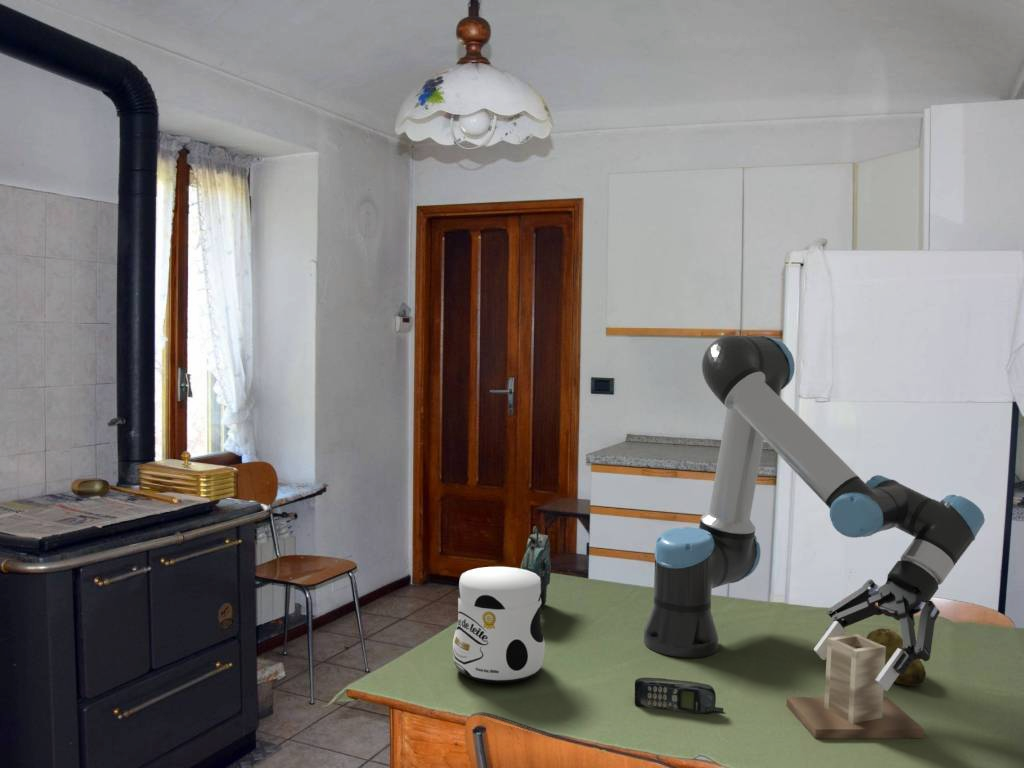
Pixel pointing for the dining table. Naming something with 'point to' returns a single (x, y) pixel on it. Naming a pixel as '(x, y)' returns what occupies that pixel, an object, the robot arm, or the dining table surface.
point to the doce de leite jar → (499, 625)
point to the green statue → (538, 560)
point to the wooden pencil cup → (854, 678)
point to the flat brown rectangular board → (834, 726)
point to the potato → (892, 642)
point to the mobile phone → (675, 695)
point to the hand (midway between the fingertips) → (848, 669)
